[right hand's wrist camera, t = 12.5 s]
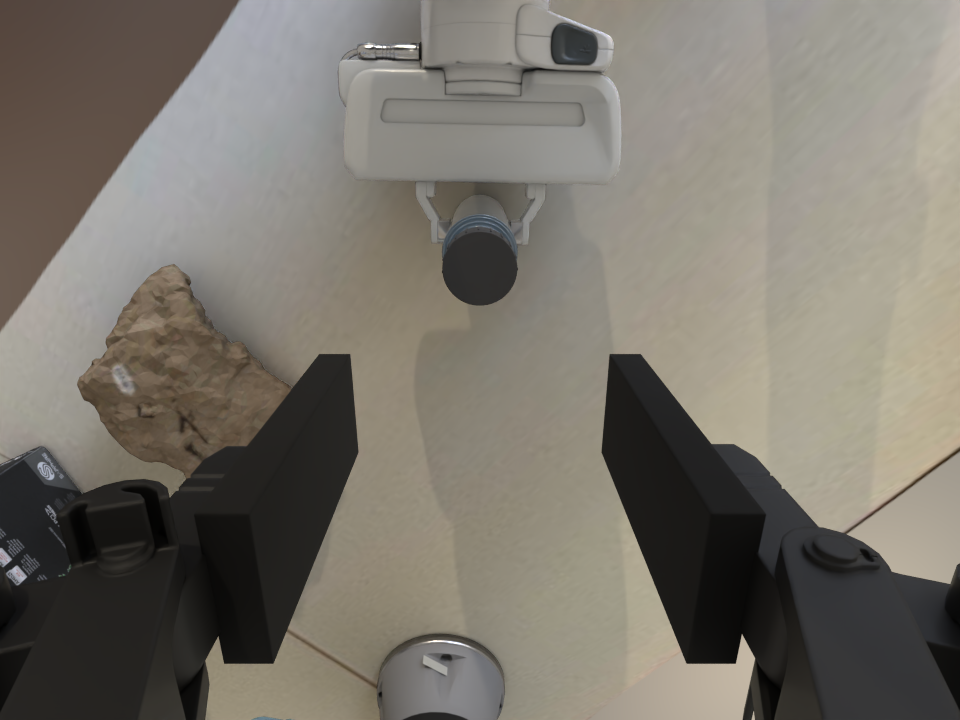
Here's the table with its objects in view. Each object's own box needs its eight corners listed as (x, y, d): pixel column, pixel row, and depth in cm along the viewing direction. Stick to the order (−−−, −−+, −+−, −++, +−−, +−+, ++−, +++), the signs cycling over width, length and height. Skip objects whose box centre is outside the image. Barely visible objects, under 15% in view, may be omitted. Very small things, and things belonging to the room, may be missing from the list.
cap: (488, 210, 32) (489, 214, 30) (530, 271, 33) (533, 278, 31) (429, 253, 32) (426, 259, 31) (471, 311, 34) (471, 320, 32)
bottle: (486, 183, 50) (490, 205, 30) (516, 228, 51) (539, 278, 31) (443, 215, 51) (419, 257, 31) (473, 258, 52) (469, 325, 32)
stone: (46, 356, 52) (16, 381, 46) (176, 254, 52) (161, 266, 46) (222, 497, 61) (214, 531, 55) (332, 410, 61) (334, 435, 56)
